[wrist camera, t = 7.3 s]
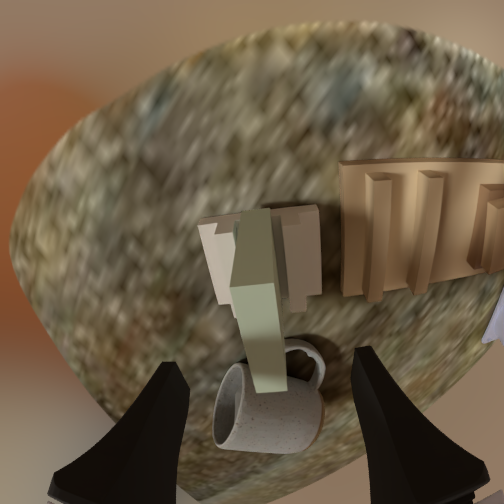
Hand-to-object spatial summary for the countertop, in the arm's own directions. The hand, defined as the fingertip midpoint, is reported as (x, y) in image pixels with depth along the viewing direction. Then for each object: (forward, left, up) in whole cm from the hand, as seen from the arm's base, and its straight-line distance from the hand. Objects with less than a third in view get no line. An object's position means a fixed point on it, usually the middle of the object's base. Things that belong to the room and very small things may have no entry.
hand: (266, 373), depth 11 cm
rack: (-12, -1, -9) cm, 16 cm away
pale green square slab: (0, 0, -8) cm, 8 cm away
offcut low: (-17, -1, -8) cm, 19 cm away
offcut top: (-17, -1, -7) cm, 18 cm away
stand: (0, 0, -9) cm, 9 cm away
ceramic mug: (+1, +12, -10) cm, 16 cm away
